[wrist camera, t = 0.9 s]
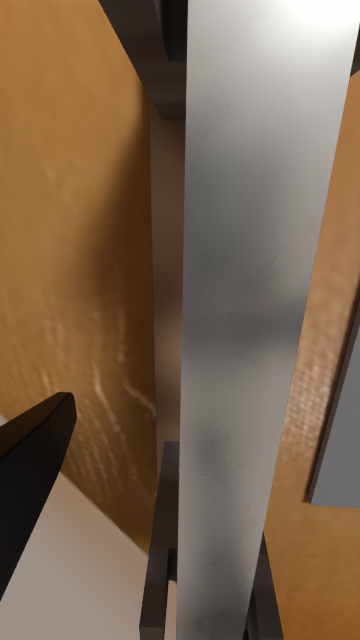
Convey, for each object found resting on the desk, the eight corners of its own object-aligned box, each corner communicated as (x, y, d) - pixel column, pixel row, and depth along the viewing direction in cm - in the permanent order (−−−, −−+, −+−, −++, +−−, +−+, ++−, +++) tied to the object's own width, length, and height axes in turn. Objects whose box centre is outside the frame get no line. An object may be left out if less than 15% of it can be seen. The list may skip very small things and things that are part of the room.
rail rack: (245, 482, 21) (278, 697, 12) (159, 477, 22) (131, 684, 13) (316, -26, 11) (850, -999, 2) (151, -23, 11) (-39, -865, 2)
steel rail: (231, 588, 14) (237, 663, 12) (179, 584, 14) (175, 658, 12) (335, -136, 5) (434, -372, 3) (196, -131, 5) (194, -357, 3)
